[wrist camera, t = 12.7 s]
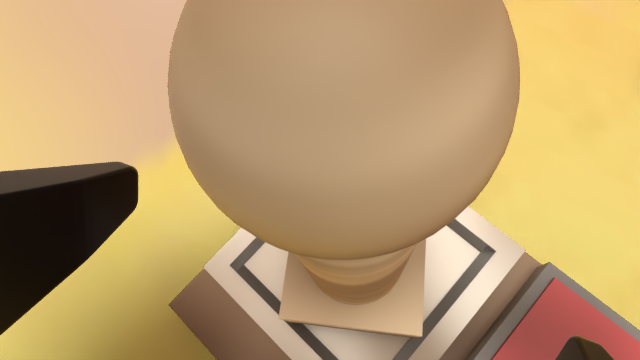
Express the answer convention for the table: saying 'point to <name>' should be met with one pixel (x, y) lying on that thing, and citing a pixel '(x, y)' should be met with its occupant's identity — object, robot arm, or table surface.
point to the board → (438, 310)
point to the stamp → (345, 137)
